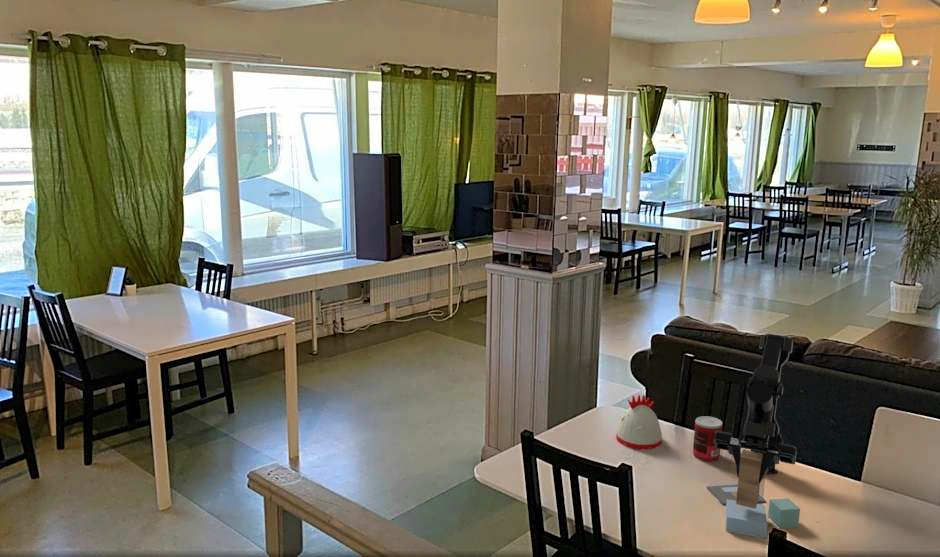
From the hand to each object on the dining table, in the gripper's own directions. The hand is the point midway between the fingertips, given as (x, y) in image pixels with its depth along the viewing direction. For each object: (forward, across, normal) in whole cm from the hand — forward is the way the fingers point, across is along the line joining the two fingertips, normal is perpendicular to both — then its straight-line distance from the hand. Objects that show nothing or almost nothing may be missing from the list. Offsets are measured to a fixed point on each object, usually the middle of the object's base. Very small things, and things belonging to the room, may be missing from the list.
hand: (748, 479), depth 169 cm
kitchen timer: (-17, -36, +35) cm, 53 cm away
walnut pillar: (+4, 0, +6) cm, 7 cm away
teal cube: (+4, +8, +14) cm, 17 cm away
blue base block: (+8, 0, +10) cm, 13 cm away
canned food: (-16, -16, +34) cm, 41 cm away
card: (-2, -4, +20) cm, 20 cm away
